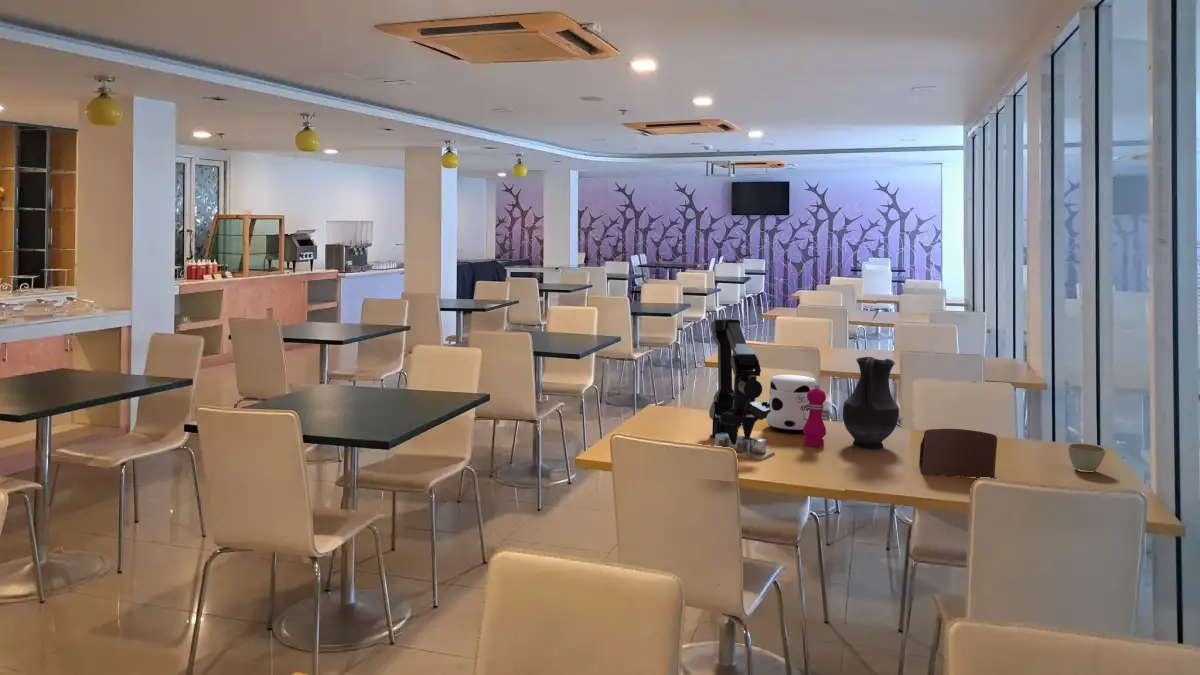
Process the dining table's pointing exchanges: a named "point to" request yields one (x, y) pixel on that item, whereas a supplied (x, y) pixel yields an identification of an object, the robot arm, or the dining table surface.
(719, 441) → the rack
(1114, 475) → the dining table surface
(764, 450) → the round-headed grey paddle
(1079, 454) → the grey bowl
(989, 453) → the letter holder
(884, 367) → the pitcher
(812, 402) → the pepper mill
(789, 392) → the milk container
